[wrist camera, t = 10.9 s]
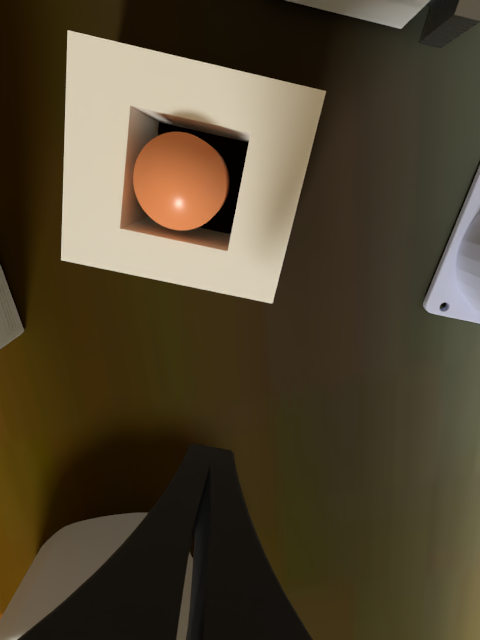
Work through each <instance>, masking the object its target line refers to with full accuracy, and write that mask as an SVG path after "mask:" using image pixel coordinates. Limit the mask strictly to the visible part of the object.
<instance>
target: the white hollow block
mask: <svg viewBox="0 0 480 640" xmlns="http://www.w3.org/2000/svg"><path fill="white" fill-rule="evenodd" d="M325 94H326V91H323V90H319V89H315V88H310V87H306V86H302V85H298V84H293V83H289V82H285V81H281V80H277V79H272V78H268V77H264V76H260V75H255V74H251V73H247V72H243V71H238V70H234V69H230V68H226V67H221V66H217V65H213V64H209V63H204V62H200V61H196V60H192V59H187V58H183V57H179V56H175V55H171V54H166V53H162V52H158V51H154V50H149V49H145V48H141V47H137V46H132V45H128V44H124V43H120V42H115V41H111V40H107V39H103V38H98V37H94V36H90V35H86V34H82V33H77V32H73V31H69V30H68V36H67V71H66V106H65V141H64V175H63V210H62V245H61V260H63V261H68V262H73V263H77V264H82V265H87V266H92V267H97V268H102V269H107V270H111V271H116V272H121V273H126V274H131V275H136V276H141V277H146V278H150V279H155V280H160V281H165V282H170V283H175V284H180V285H184V286H189V287H194V288H199V289H204V290H209V291H214V292H218V293H223V294H228V295H233V296H238V297H243V298H248V299H253V300H257V301H262V302H267V303H273V299H274V295H275V291H276V287H277V284H278V280H279V276H280V272H281V268H282V264H283V260H284V256H285V252H286V248H287V244H288V240H289V236H290V232H291V228H292V224H293V220H294V216H295V212H296V208H297V204H298V200H299V196H300V192H301V189H302V185H303V181H304V177H305V173H306V169H307V165H308V161H309V157H310V153H311V149H312V145H313V141H314V137H315V133H316V129H317V125H318V121H319V117H320V113H321V109H322V105H323V101H324V97H325ZM159 122H161V123H165V124H170V125H174V126H178V127H183V128H187V129H192V130H196V131H200V132H205V133H209V134H214V135H218V136H223V137H227V138H231V139H236V140H240V141H245V142H249V144H248V149H247V154H246V159H245V164H244V170H243V175H242V180H241V185H240V190H239V195H238V200H237V206H236V211H235V216H234V221H233V226H232V231H231V234H227V233H223V232H218V231H213V230H209V229H204V228H199V227H198V228H195V229H191V230H173V229H169V228H166V227H164V226H162V225H160V224H158V223H156V222H155V221H154V220H152V219H151V218H150V217H149V216H148V215H147V214H146V212H145V211H144V210H143V208H142V207H141V205H140V204H139V201H138V199H137V197H136V194H135V190H134V184H133V172H134V166H135V163H136V160H137V158H138V155H139V154H140V152H141V150H142V149H143V148H144V146H145V145H146V144H147V143H148V142H150V141H151V140H152V139H154V138H155V137H157V136H158V129H159Z"/></svg>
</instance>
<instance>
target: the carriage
mask: <svg viewBox="0 0 480 640" xmlns="http://www.w3.org/2000/svg"><path fill="white" fill-rule="evenodd" d="M286 1H290V2H294V3H298V4H302V5H306V6H310V7H314V8H318V9H322V10H326V11H330V12H334V13H338V14H342V15H346V16H351V17H355V18H359V19H363V20H367V21H371V22H375V23H379V24H383V25H387V26H391V27H395V28H399V29H402V28H403V27H404V26H405V25H406V24H407V23H408V22H409V21H410V20H411V19H412V18H413V17H414V16H415V15H416V14H417V13H418V12H419V11H420V10H421V9H422V8H423V7H424V6H425V5H426V4H427V3H428V2H429V1H430V0H286Z"/></svg>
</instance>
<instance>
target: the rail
mask: <svg viewBox="0 0 480 640" xmlns="http://www.w3.org/2000/svg"><path fill="white" fill-rule="evenodd" d="M426 5H429V6H431V7H430V10H429V13H428V16H427V19H426V22H425V25H424V29H423V32H422V35H421V38H420V41H419V43H423V44H427V45H431V46H435V47H439V48H442V47H443V46H445V45H446V44H448V43H449V42H451V41H452V40H454V39H455V38H457V37H458V36H460V35H461V34H463V33H464V32H466V31H467V30H469V29H470V28H472V27H473V26H475V25H476V24H478V23H479V22H480V0H430V1H429V2H428V3H427V4H426Z"/></svg>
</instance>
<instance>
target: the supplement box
mask: <svg viewBox="0 0 480 640" xmlns="http://www.w3.org/2000/svg"><path fill="white" fill-rule="evenodd" d="M23 332H24V328H23V326H22V323H21V320H20V318H19V315H18V312H17V309H16V306H15V304H14V301H13V298H12V295H11V293H10V290H9V287H8V284H7V282H6V279H5V276H4V273H3V270H2V268H1V265H0V349H1V348H2V347H4V346H5V345H6V344H8V343H9V342H10V341H12V340H13V339H15V338H16V337H17V336H19V335H20V334H21V333H23Z"/></svg>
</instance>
